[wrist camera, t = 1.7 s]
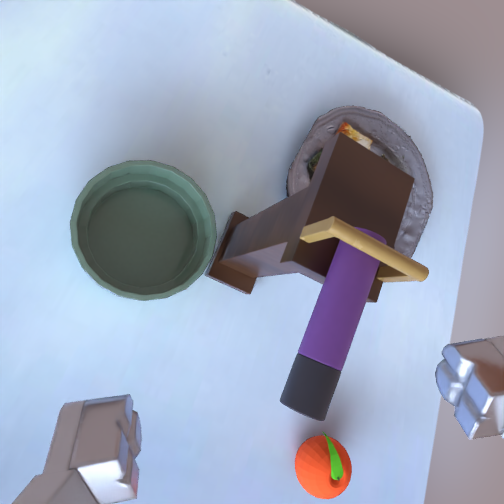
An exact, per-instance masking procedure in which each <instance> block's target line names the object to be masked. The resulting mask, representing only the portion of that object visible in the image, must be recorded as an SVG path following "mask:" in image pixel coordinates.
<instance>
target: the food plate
mask: <svg viewBox="0 0 504 504" xmlns="http://www.w3.org/2000/svg"><path fill="white" fill-rule="evenodd" d="M339 132H342V133H343V134H345V135H347V136H348V137H350V138H351V139H353V140H355V141H356V142H358V143H359V144H361V145H363V146H364V147H366V148H367V149H369V150H370V151H372V152H374V153H375V154H377V155H378V156H380V157H382V158H383V159H385V160H386V161H388V162H389V163H391V164H393V165H394V166H396V167H397V168H399V169H401V170H402V171H404V172H405V173H407V174H409V175H410V176H412V177H413V178H415V180H414V183H413V187H412V190H411V193H410V196H409V199H408V203H407V206H406V209H405V212H404V216H403V219H402V222H401V225H400V229H399V232H398V235H397V238H396V241H395V245H394V248H393V249H394V250H396V251H398V252H400V253H402V254H404V255H405V256H407V257H409V258H411V257H412V255H413V254H414V251H415V249H416V247H417V244H418V242H419V240H420V237H421V235H422V233H423V231H424V228H425V226H426V224H427V221H428V218H429V214H430V213H431V210H432V208H433V191H432V187H431V181H430V179H429V175H428V172H427V169H426V166H425V163H424V159H423V158H422V155H421V153H420V151H419V150H418V148H417V146H416V145H415V144H414V142H413V141H412V139H411V138H410V137H411V136H408V135H407V134H406V133H407V132H404V130H403V129H401V128H400V126H397V124H395V123H394V122H392V121H391V120H390V119H389V118H387V117H386V116H385V115H383V113H381V112H379V111H375V110H370V109H366V108H364V107H357V106H343V107H339V108H335V109H332V110H331V111H329V112H328V113H326V114H324V115H322V116H320V117H318V119H317V120H316V121H315V123H314V125H313V127H312V129H311V130H310V132H309V134H308V136H307V137H306V139H305V141H304V143H303V145H302V146H301V148H300V150H299V152H298V154H297V156H296V157H295V159H294V161H293V163H292V164H291V165H292V166H291V169H290V168H289V172H288V176H287V180H286V183H287V184H286V189H287V196H288V197H289V196H291V195H293V194H295V193H297V192H299V191H301V190H303V189H304V188H306V187H308V186H309V185H310V182H311V180H312V177H313V174H314V172H315V169H316V166H317V164H318V161H319V159H320V156H321V153H322V151H323V148H324V145H325V143H326V141H328V140H329V139H331V138H332V137H334V136H335V135H336V134H338V133H339ZM388 266H389V265H388Z"/></svg>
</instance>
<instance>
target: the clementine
mask: <svg viewBox="0 0 504 504" xmlns="http://www.w3.org/2000/svg"><path fill="white" fill-rule="evenodd" d="M323 433H324V432H323ZM324 435H325V436H323V435H321V436H314V437H311V438H309V439H307V440H306V441H305V442H304V443H303V444H302V445H301V446H300V448H299V450H298V452H297V454H296V458H295V470H296V474H297V478H298V480H299V482H300V484H301V485H302V487H303V488H304V489H305V490H306V491H307V492H308V493H310V494H311V495H313V496H315V497H317V498H322V499H330V498H334V497H336V496H338V495H340V494H341V493H342V492H343V491H344V490H345V489H346V487H347V486H348V484H349V482H350V478H351V473H352V466H351V461H350V458H349V455H348V453H347V451H346V450H345V448H344V447H343V446H342V445H341V444H340V443H339V442H338V441H337V440H335V439H333V438H331V437H328V436H327V435H326V434H325V433H324Z"/></svg>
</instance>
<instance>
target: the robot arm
mask: <svg viewBox="0 0 504 504" xmlns="http://www.w3.org/2000/svg"><path fill="white" fill-rule="evenodd" d="M442 355H443V357H444V358H445V359H444V360H442V361H441V362H440V363H439V364H438V365H437V368H436V372H435V376H436V383H437V386H438V388H439V391H440V393H441V394H442V396H443V398H444V399H445V400H446V401H447V402H449V403H450V404H452V405H453V406H455V414H454V415H455V417H456V418H457V421H458V422H459V424H460V425H461V427H462V429H463V430H464V432H465V433H466V435H467V437H468V438H469V439H476V438H483V437H490V436H496V435H502V436H501V437H502V438H503V439H504V336H497V337H492V338H486V339H476V340H470V341H464V342H459V343H453V344H448V345H446V346H445V347H444V348H443V351H442ZM141 441H142V435H141V423H140V418H139V415H138V413H137V412H136V411H134V410H133V400H132V398H131V396H130V394H127V395H120V396H113V397H105V398H98V399H91V400H83V401H76V402H70V403H64V405H63V407H62V408H61V410H60V412H59V416H58V419H57V423H56V427H55V430H54V434H53V437H52V441H51V445H50V448H49V452H48V455H47V459H46V463H45V466H44V470H43V473H42V474H41V475H36V476H35V477H34V478H33V479H32V480H31V481H30V483H29V484H28V485H27V486H26V487H25V489H24V490H23V491H22V492H21V493H20V494H19V496H18V497H17V498H16V499H15V500H14V501H13V503H12V504H113V503H118V502H123V501H128V500H133V499H137V489H138V478H139V468H138V465H137V463H136V461H135V458H136V457H137V456H138V454H139V453H140V451H141Z"/></svg>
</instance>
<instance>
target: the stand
mask: <svg viewBox="0 0 504 504" xmlns="http://www.w3.org/2000/svg"><path fill="white" fill-rule="evenodd" d="M414 180H415V178H413V177H412V176H410V175H409V174H407V173H405V172H404V171H402V170H401V169H399V168H397V167H396V166H394V165H393V164H391V163H389V162H388V161H386V160H385V159H383V158H382V157H380V156H378V155H377V154H375V153H374V152H372V151H370V150H369V149H367V148H366V147H364V146H363V145H361V144H359V143H358V142H356V141H355V140H353V139H351V138H350V137H348V136H347V135H345V134H343V133H342V132H339V133H338V134H336V135H335V136H334V137H332V138H331V139H329V140H328V141H326V143H325V145H324V148H323V151H322V153H321V156H320V159H319V161H318V164H317V166H316V169H315V172H314V174H313V177H312V180H311V182H310V185H309V186H308V187H306V188H304V189H303V190H301V191H299V192H297V193H295V194H293V195H291V196H289V197H288V198H286V199H284V200H282V201H280V202H278V203H276V204H274V205H273V206H271V207H269V208H267V209H265V210H263V211H261V212H259V213H258V214H256V215H254V216H252V217H250V218H248V217H246V216H245V215H243V214H241V213H239V212H237V211H234V212H233V213H232V214H231V216H230V219H229V221H228V223H227V226H226V228H225V230H224V233H223V235H222V237H221V240H220V242H219V244H218V247H217V249H216V251H215V254H214V256H213V258H212V261H211V263H210V266H209V268H208V270H207V273H206V275H205V276H207V277H209V278H212V279H214V280H216V281H218V282H220V283H223V284H225V285H227V286H229V287H231V288H234V289H236V290H238V291H240V292H243V293H245V294H251V291H252V288H253V286H254V283H255V281H256V278H257V277H264V276H273V275H281V274H290V273H301V274H303V275H305V276H307V277H309V278H311V279H313V280H315V281H317V282H319V283H321V284H324V281H325V278H326V276H327V273H328V270H329V268H330V265H331V262H332V260H333V257H334V254H335V252H336V249H337V247H338V244H339V241H340V240H342V241H344V242H346V243H348V244H350V245H351V246H353V247H355V248H357V249H359V250H361V251H363V252H364V253H366V254H368V255H370V256H372V257H374V258H376V259H378V260H379V261H380V263H379V266H378V269H377V272H376V275H375V278H374V280H373V283H372V286H371V289H370V292H369V295H368V297H367V300H366V302H377V299H378V296H379V293H380V290H381V287H382V283H383V282H404V281H420V282H421V281H424V280H425V279H426V278H427V276H428V274H429V270H428V268H427V267H425V266H423V265H422V264H420V263H418V262H416V261H414V260H413V259H411V258H409V257H407V256H405V255H404V254H402V253H400V252H398V251H396V250H394V249H393V248H394V245H395V241H396V238H397V235H398V232H399V229H400V225H401V222H402V219H403V216H404V212H405V209H406V206H407V203H408V199H409V196H410V193H411V190H412V187H413V183H414ZM355 227H359V228H364V229H367V230H370V231H373V232H375V233H377V234H379V235H380V236H382V237H383V238H384V239H385V240H386V245H385V244H384V243H382V242H380V241H378V240H376V239H375V238H373V237H371V236H369V235H367V234H366V233H364V232H362V231H360V230H358V229H357V228H355ZM388 265H389V266H388Z"/></svg>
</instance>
